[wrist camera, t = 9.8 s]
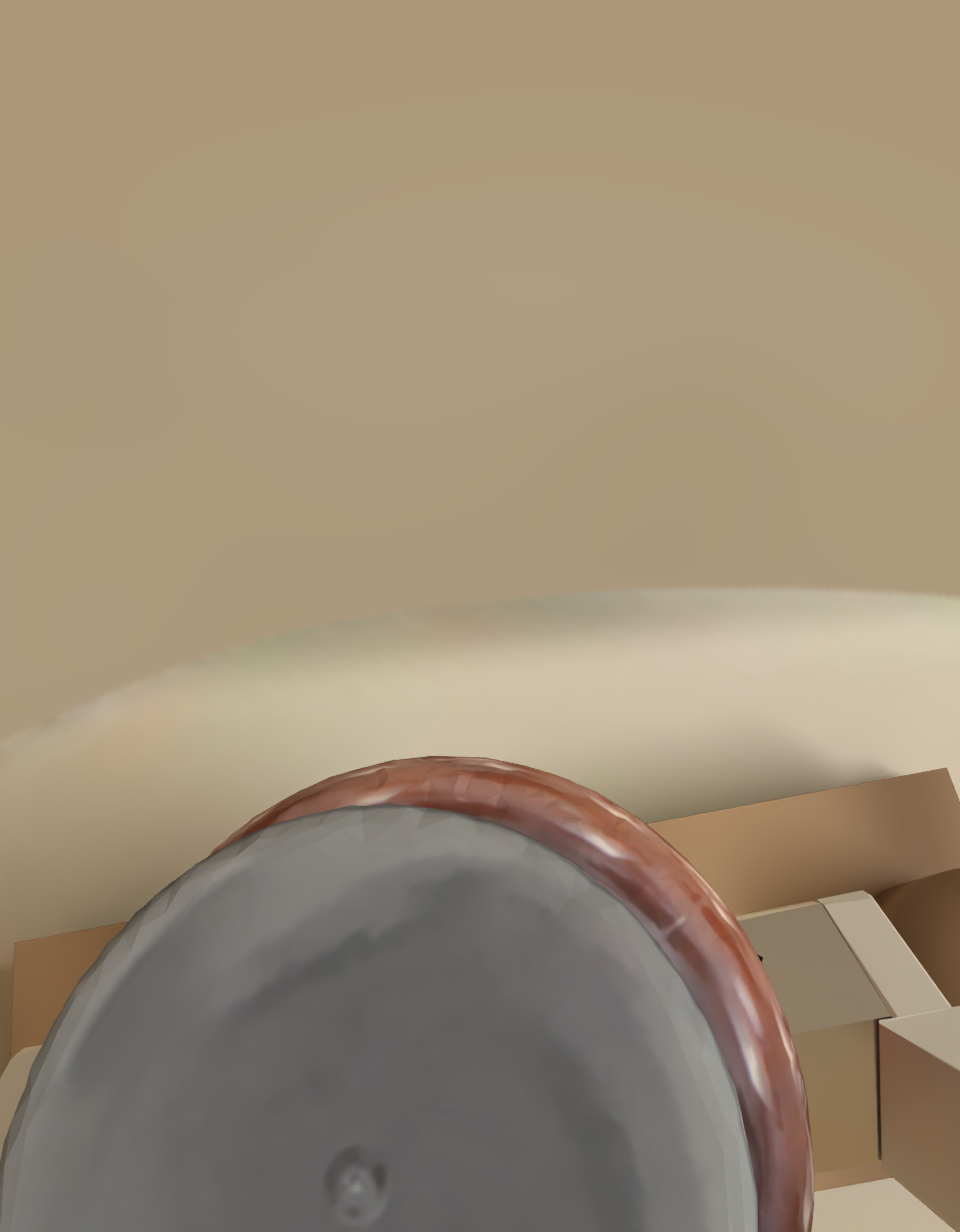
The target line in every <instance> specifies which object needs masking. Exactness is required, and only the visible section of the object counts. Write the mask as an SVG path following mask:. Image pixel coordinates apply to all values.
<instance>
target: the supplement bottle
mask: <svg viewBox="0 0 960 1232" xmlns="http://www.w3.org/2000/svg"><path fill="white" fill-rule="evenodd" d="M814 1179H815V1172H814V1161H813V1150H812V1140H811V1130H810V1121H809V1110H808V1100H807V1094H806V1088H805V1082H804V1077H803V1074H802V1071H801V1068H800V1062H799V1056H798V1054H797V1051H796V1049H795V1047H794V1044H793V1042H792V1039H791V1034H790V1029H789V1024H788V1022H787V1020H786V1017H785V1015H784V1012H783V1010H782V1008H781V1005H780V1003H779V1000H778V998H777V995H776V993H775V991H774V988H773V986H772V983H771V981H770V979H769V976H768V974H767V972H766V971H765V969H764V967H763V965H762V963H761V961H760V959H759V957H758V955H757V953H756V951H755V949H754V947H753V945H752V944H751V942H750V940H749V938H748V936H747V934H746V933H745V931H744V930H743V929H742V927H741V926H740V924H739V922H738V921H737V919H736V917H735V916H734V914H733V913H732V912H731V910H730V909H729V908H728V907H727V905H726V904H725V903H724V902H723V900H722V899H721V898H720V896H719V895H718V894H717V893H716V891H715V890H714V889H713V888H712V886H711V885H710V884H709V883H708V882H707V881H706V880H705V878H704V877H703V876H702V875H701V874H700V873H699V872H698V871H697V869H696V868H695V867H694V866H693V865H692V864H691V863H690V862H689V860H688V859H686V858H685V857H684V856H683V855H682V854H681V853H680V852H679V851H678V850H676V849H675V848H674V847H673V846H672V845H671V844H670V843H669V842H667V841H666V840H665V839H664V838H663V837H662V836H661V835H659V834H658V833H657V832H656V831H655V830H654V829H652V828H651V827H650V826H648V825H647V824H646V823H644V822H643V821H642V820H640V819H639V818H637V817H636V816H634V815H632V814H631V813H629V812H628V811H626V810H624V809H623V808H621V807H620V806H618V805H616V804H615V803H613V802H612V801H610V800H608V799H607V798H605V797H604V796H602V795H600V794H599V793H597V792H595V791H593V790H590V789H588V788H586V787H583V786H581V785H578V784H576V783H574V782H572V781H570V780H568V779H565V778H562V777H560V776H557V775H554V774H551V773H548V772H544V771H541V770H537V769H534V768H530V767H527V766H523V765H519V764H514V763H509V762H504V761H499V760H494V759H489V758H479V757H449V756H428V757H420V758H411V759H402V760H392V761H388V762H384V763H380V764H376V765H372V766H368V767H364V768H361V769H357V770H353V771H350V772H346V773H343V774H339V775H336V776H333V777H330V778H327V779H325V780H323V781H321V782H319V783H317V784H315V785H312V786H310V787H308V788H305V789H303V790H301V791H299V792H297V793H295V794H294V795H292V796H290V797H288V798H286V799H284V800H283V801H281V802H279V803H277V804H276V805H274V806H272V807H271V808H269V809H267V810H266V811H264V812H262V813H261V814H259V815H257V816H255V817H254V818H252V819H251V820H250V821H249V822H248V823H247V824H246V825H244V826H243V827H242V828H240V829H239V830H237V831H236V832H235V833H233V834H232V835H231V836H230V837H229V838H228V839H227V840H226V841H224V842H223V843H222V844H220V845H219V846H218V847H216V848H215V849H214V850H213V852H212V853H211V854H210V855H209V856H208V857H207V858H206V859H204V860H202V861H201V862H199V863H197V864H196V865H195V866H194V867H192V868H191V869H190V870H188V871H187V872H186V873H184V874H183V875H182V876H180V877H179V878H177V879H176V880H175V881H173V882H172V883H171V884H169V885H168V886H167V887H166V888H164V889H163V890H162V891H160V892H159V893H158V894H157V895H155V896H154V897H153V898H152V899H151V900H150V901H149V902H148V903H147V904H146V905H145V906H144V907H143V908H142V909H140V910H139V911H137V912H136V913H135V915H134V916H133V917H132V918H131V919H130V921H129V922H128V923H127V924H126V925H125V926H124V928H123V929H122V930H121V931H120V932H119V933H118V934H117V935H116V936H115V937H114V938H113V939H112V940H110V941H109V942H108V943H107V944H106V946H105V947H104V949H103V950H102V952H101V953H100V955H99V956H98V958H97V959H96V961H95V962H94V963H93V964H92V966H91V967H90V968H89V969H88V970H87V971H86V973H85V974H84V975H83V976H82V977H81V979H80V980H79V982H78V983H77V985H76V986H75V988H74V990H73V991H72V993H71V994H70V996H69V997H68V999H67V1001H66V1003H65V1005H64V1007H63V1010H62V1011H61V1013H60V1014H59V1016H58V1017H57V1019H56V1020H55V1022H54V1023H53V1025H52V1027H51V1029H50V1031H49V1033H48V1035H47V1037H46V1039H45V1041H44V1043H43V1045H42V1047H41V1049H40V1051H39V1052H38V1054H37V1056H36V1058H35V1060H34V1062H33V1064H32V1066H31V1069H30V1073H29V1076H28V1080H27V1084H26V1087H25V1090H24V1092H23V1094H22V1096H21V1098H20V1100H19V1103H18V1106H17V1108H16V1111H15V1114H14V1117H13V1119H12V1122H11V1125H10V1127H9V1130H8V1133H7V1135H6V1138H5V1141H4V1145H3V1150H2V1154H1V1159H0V1232H811V1229H812V1220H813V1209H814V1198H813V1196H814Z"/></svg>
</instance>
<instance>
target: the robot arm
mask: <svg viewBox="0 0 960 1232" xmlns="http://www.w3.org/2000/svg"><path fill="white" fill-rule="evenodd" d="M735 917H736V919H737V921H738V922H739V924H740V926H741V927H742V929H743V930H744V931H745V933H746V934H747V936H748V938H749V940H750V942H751V944H752V945H753V947H754V949H755V951H756V953H757V955H758V957H759V959H760V961H761V963H762V965H763V967H764V969H765V971H766V972H767V974H768V976H769V979H770V981H771V983H772V986H773V988H774V991H775V993H776V995H777V998H778V1000H779V1003H780V1005H781V1008H782V1010H783V1012H784V1015H785V1017H786V1020H787V1022H788V1024H789V1029H790V1034H791V1039H792V1042H793V1044H794V1047H795V1049H796V1051H797V1054H798V1056H799V1062H800V1068H801V1071H802V1074H803V1077H804V1082H805V1088H806V1094H807V1100H808V1110H809V1121H810V1130H811V1140H812V1150H813V1161H814V1172H815V1173H819V1172H826V1171H832V1170H839V1169H846V1168H852V1167H859V1166H865V1165H872V1164H879V1163H882V1168H883V1169H884V1170H885V1171H886V1172H887V1173H888V1174H890V1175H891V1176H892V1177H893V1178H894V1179H895V1180H897V1181H898V1182H899V1183H900V1184H901V1185H902V1186H904V1187H905V1188H906V1189H907V1190H908V1191H909V1192H911V1193H912V1194H913V1195H914V1196H915V1197H916V1198H918V1199H919V1200H920V1201H921V1202H922V1203H923V1204H925V1205H926V1206H927V1207H928V1208H929V1209H930V1210H932V1211H933V1212H934V1213H935V1214H936V1215H937V1216H939V1217H940V1218H941V1219H942V1220H943V1221H944V1222H946V1223H947V1224H948V1225H949V1226H950V1227H952V1228H953V1229H954V1230H955V1231H956V1232H960V1006H956V1007H951V1005H950V1004H949V1002H948V1001H947V1000H946V998H945V997H944V996H943V994H942V993H941V991H940V990H939V989H938V987H937V986H936V984H935V983H934V982H933V980H932V979H931V978H930V976H929V975H928V973H927V972H926V971H925V969H924V968H923V966H922V965H921V964H920V962H919V961H918V959H917V958H916V957H915V955H914V954H913V953H912V951H911V950H910V948H909V947H908V946H907V944H906V943H905V941H904V940H903V939H902V937H901V936H900V934H899V933H898V932H897V930H896V929H895V928H894V926H893V925H892V923H891V922H890V921H889V919H888V918H887V916H886V915H885V914H884V912H883V911H882V909H881V908H880V907H879V905H878V904H877V903H876V901H875V900H874V898H873V897H872V896H871V895H870V894H868V893H866V892H865V891H863V890H861V891H856V892H851V893H846V894H842V895H837V896H832V897H827V898H822V899H817V900H816V901H815V902H813V901H810V902H805V903H800V904H795V905H790V906H784V907H779V908H774V909H769V910H764V911H759V912H754V913H749V914H744V915H739V916H735ZM41 1047H42V1045H39V1046H32V1047H25V1048H24V1049H22V1050H21V1051H20V1052H19V1053H17V1054H16V1055H15V1056H14V1057H13V1058H12V1059H11V1060H10V1062H9V1064H8V1065H7V1067H6V1069H5V1071H4V1073H3V1075H2V1077H1V1079H0V1159H1V1154H2V1150H3V1145H4V1141H5V1138H6V1135H7V1133H8V1130H9V1127H10V1125H11V1122H12V1119H13V1117H14V1114H15V1111H16V1108H17V1106H18V1103H19V1100H20V1098H21V1096H22V1094H23V1092H24V1090H25V1087H26V1084H27V1080H28V1076H29V1073H30V1069H31V1066H32V1064H33V1062H34V1060H35V1058H36V1056H37V1054H38V1052H39V1051H40V1049H41Z"/></svg>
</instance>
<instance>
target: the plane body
mask: <svg viewBox="0 0 960 1232" xmlns="http://www.w3.org/2000/svg"><path fill="white" fill-rule="evenodd" d="M647 825H648V826H650V827H651V828H652V829H654V830H655V831H656V832H657V833H658V834H659V835H661V836H662V837H663V838H664V839H665V840H666V841H667V842H669V843H670V844H671V845H672V846H673V847H674V848H675V849H676V850H678V851H679V852H680V853H681V854H682V855H683V856H684V857H685V858H686V859H688V860H689V862H690V863H691V864H692V865H693V866H694V867H695V868H696V869H697V871H698V872H699V873H700V874H701V875H702V876H703V877H704V878H705V880H706V881H707V882H708V883H709V884H710V885H711V886H712V888H713V889H714V890H715V891H716V893H717V894H718V895H719V896H720V898H721V899H722V900H723V902H724V903H725V904H726V905H727V907H728V908H729V909H730V910H731V912H732V913H733V914H734V916H739V915H744V914H749V913H754V912H759V911H764V910H769V909H774V908H779V907H784V906H790V905H795V904H800V903H805V902H810V901H813V902H815V901H816V900H817V899H822V898H827V897H832V896H837V895H842V894H846V893H851V892H856V891H861V890H863V891H865V892H866V893H868V894H870V895H871V896H872V897H873V898H874V900H875V901H876V903H877V904H878V905H879V907H880V908H881V909H882V911H883V912H884V914H885V915H886V916H887V918H888V919H889V921H890V922H891V923H892V925H893V926H894V928H895V929H896V930H897V932H898V933H899V934H900V936H901V937H902V939H903V940H904V941H905V943H906V944H907V946H908V947H909V948H910V950H911V951H912V953H913V954H914V955H915V957H916V958H917V959H918V961H919V962H920V964H921V965H922V966H923V968H924V969H925V971H926V972H927V973H928V975H929V976H930V978H931V979H932V980H933V982H934V983H935V984H936V986H937V987H938V989H939V990H940V991H941V993H942V994H943V996H944V997H945V998H946V1000H947V1001H948V1002H949V1004H950V1005H951V1007H956V1006H960V801H959V798H958V796H957V793H956V791H955V788H954V785H953V783H952V780H951V778H950V775H949V772H948V770H947V768H942V769H937V770H931V771H926V772H921V773H915V774H910V775H905V776H899V777H894V778H889V779H883V780H878V781H873V782H867V783H862V784H857V785H852V786H846V787H841V788H836V789H830V790H825V791H820V792H814V793H809V794H804V795H798V796H793V797H788V798H783V799H777V800H772V801H767V802H761V803H756V804H751V805H745V806H740V807H735V808H729V809H724V810H719V811H713V812H708V813H703V814H698V815H692V816H687V817H682V818H676V819H671V820H666V821H660V822H655V823H650V824H647ZM127 923H128V922H124V923H119V924H113V925H108V926H103V927H97V928H92V929H87V930H81V931H76V932H71V933H66V934H60V935H55V936H50V937H44V938H39V939H34V940H28V941H23V942H18V943H14V971H13V998H12V1025H11V1053H10V1060H11V1059H12V1058H13V1057H14V1056H15V1055H16V1054H17V1053H19V1052H20V1051H21V1050H22V1049H24V1048H25V1047H32V1046H39V1045H43V1043H44V1041H45V1039H46V1037H47V1035H48V1033H49V1031H50V1029H51V1027H52V1025H53V1023H54V1022H55V1020H56V1019H57V1017H58V1016H59V1014H60V1013H61V1011H62V1010H63V1007H64V1005H65V1003H66V1001H67V999H68V997H69V996H70V994H71V993H72V991H73V990H74V988H75V986H76V985H77V983H78V982H79V980H80V979H81V977H82V976H83V975H84V974H85V973H86V971H87V970H88V969H89V968H90V967H91V966H92V964H93V963H94V962H95V961H96V959H97V958H98V956H99V955H100V953H101V952H102V950H103V949H104V947H105V946H106V944H107V943H108V942H109V941H110V940H112V939H113V938H114V937H115V936H116V935H117V934H118V933H119V932H120V931H121V930H122V929H123V928H124V926H125V925H126V924H127ZM887 1178H892V1176H891V1175H890V1174H888V1173H887V1172H886V1171H885V1170H884V1169H883V1168H882V1163H879V1164H872V1165H865V1166H859V1167H852V1168H846V1169H839V1170H832V1171H826V1172H819V1173H815V1179H814V1192H815V1191H821V1190H826V1189H832V1188H837V1187H843V1186H848V1185H854V1184H859V1183H865V1182H870V1181H876V1180H881V1179H887Z"/></svg>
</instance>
